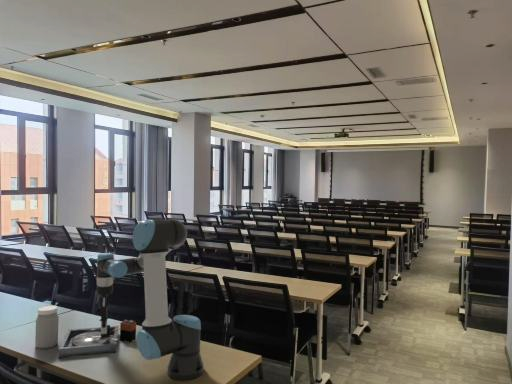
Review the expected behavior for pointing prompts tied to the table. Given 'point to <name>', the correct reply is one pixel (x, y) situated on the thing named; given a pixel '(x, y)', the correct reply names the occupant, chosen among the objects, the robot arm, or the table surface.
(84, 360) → the table surface
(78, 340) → the dial
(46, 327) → the jar
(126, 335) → the battery
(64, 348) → the housing
